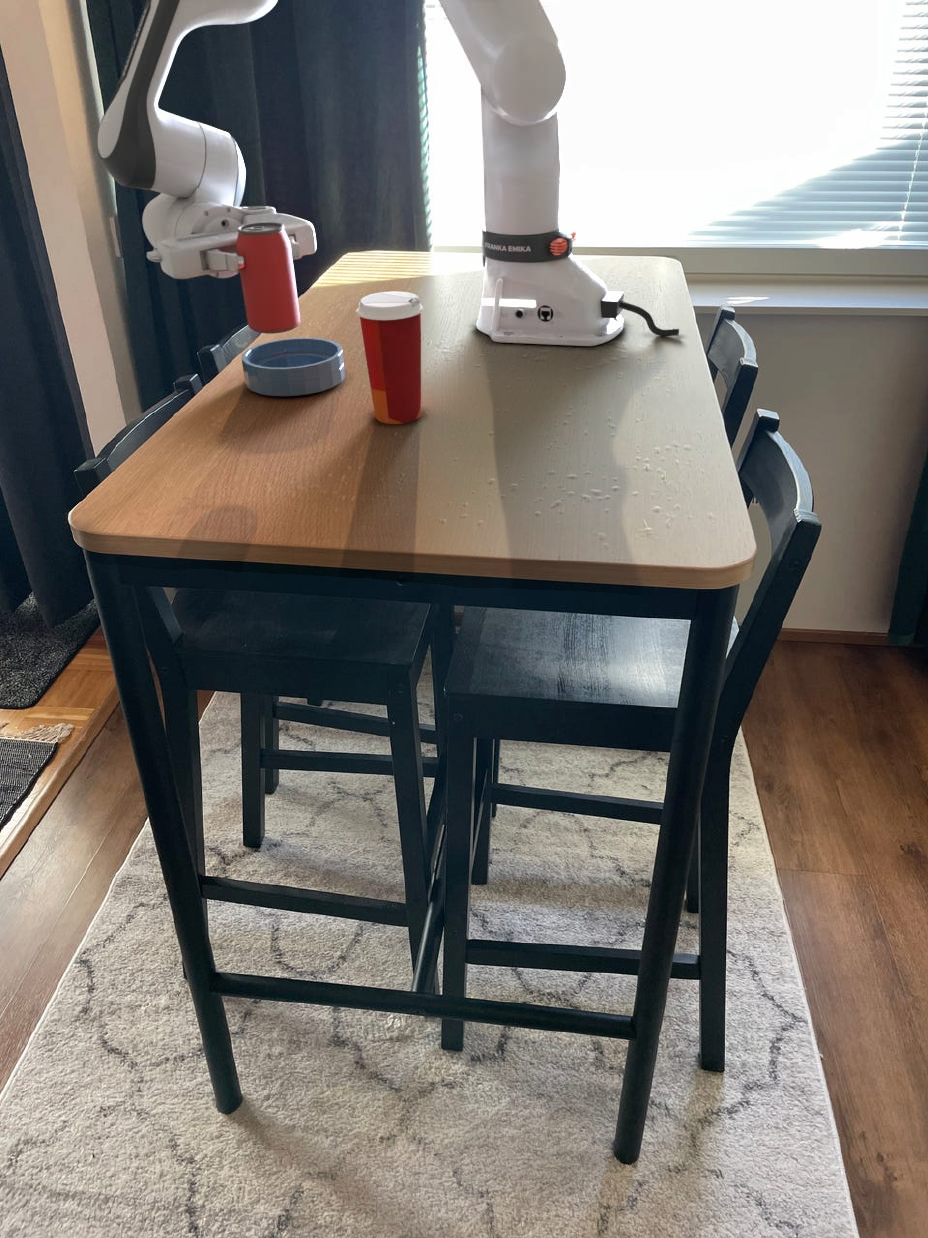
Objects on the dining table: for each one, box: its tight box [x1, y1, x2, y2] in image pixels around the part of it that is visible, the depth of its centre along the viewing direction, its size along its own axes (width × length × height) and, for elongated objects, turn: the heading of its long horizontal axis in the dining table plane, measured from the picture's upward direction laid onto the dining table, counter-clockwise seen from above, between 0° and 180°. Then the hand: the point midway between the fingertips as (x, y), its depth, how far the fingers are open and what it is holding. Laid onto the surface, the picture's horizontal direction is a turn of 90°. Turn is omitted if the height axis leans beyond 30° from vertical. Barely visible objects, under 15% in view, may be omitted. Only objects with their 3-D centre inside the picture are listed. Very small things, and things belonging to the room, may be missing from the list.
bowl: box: [241, 337, 346, 397], centre depth 124 cm, size 13×13×4 cm
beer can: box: [236, 222, 301, 335], centre depth 114 cm, size 7×7×12 cm
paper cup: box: [355, 290, 424, 425], centre depth 109 cm, size 8×8×14 cm
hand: (268, 257), depth 112 cm, fingers closed on beer can, 6 cm apart
